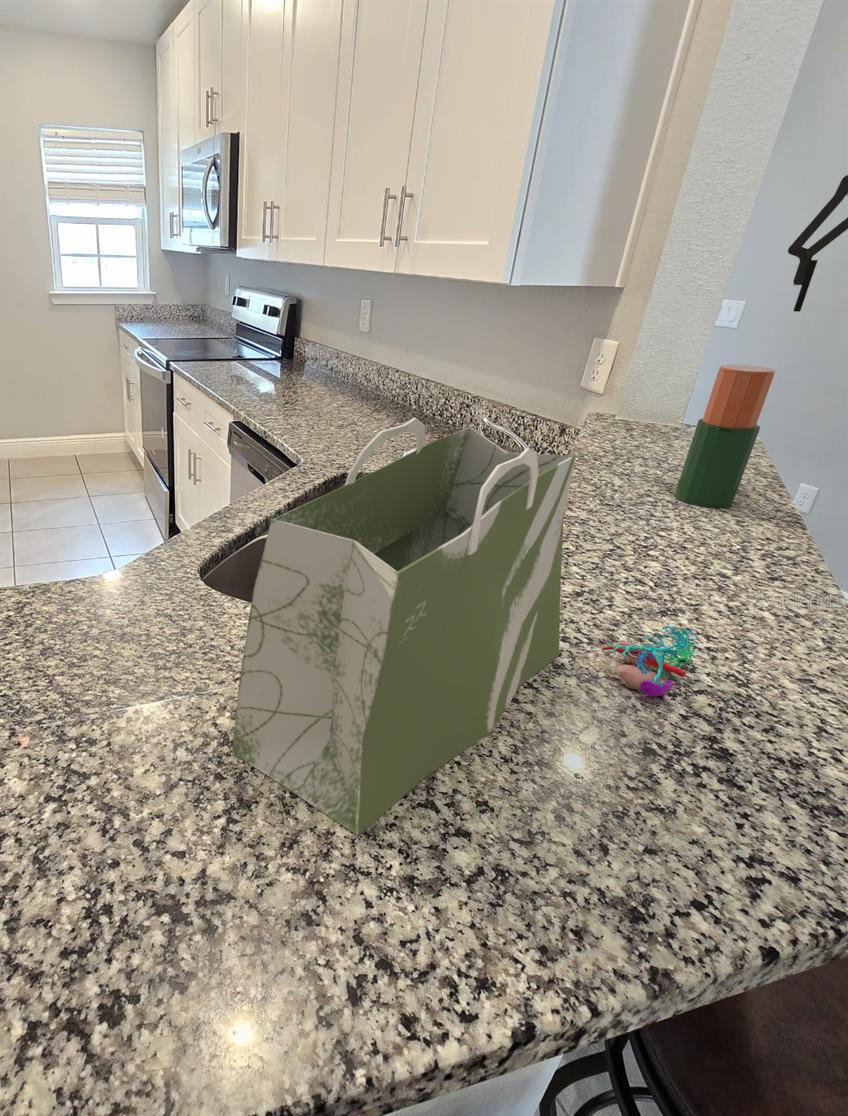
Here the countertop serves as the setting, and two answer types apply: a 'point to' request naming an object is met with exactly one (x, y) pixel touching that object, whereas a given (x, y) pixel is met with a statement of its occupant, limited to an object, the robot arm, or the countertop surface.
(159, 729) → the countertop surface
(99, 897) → the countertop surface
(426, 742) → the grocery bag
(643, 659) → the anatomy model
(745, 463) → the bottle
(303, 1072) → the countertop surface
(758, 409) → the orange octagonal cylinder
